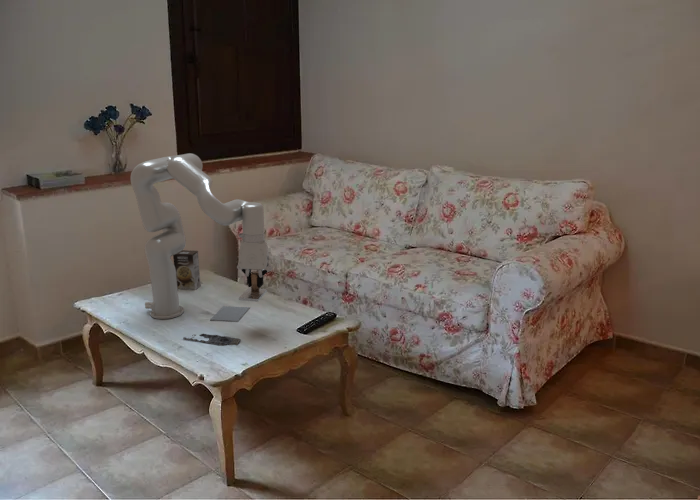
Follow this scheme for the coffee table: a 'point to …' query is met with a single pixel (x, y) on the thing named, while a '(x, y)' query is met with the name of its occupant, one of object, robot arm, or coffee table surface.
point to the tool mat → (230, 314)
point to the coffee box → (187, 269)
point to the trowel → (253, 290)
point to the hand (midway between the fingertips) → (255, 285)
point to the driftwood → (216, 340)
